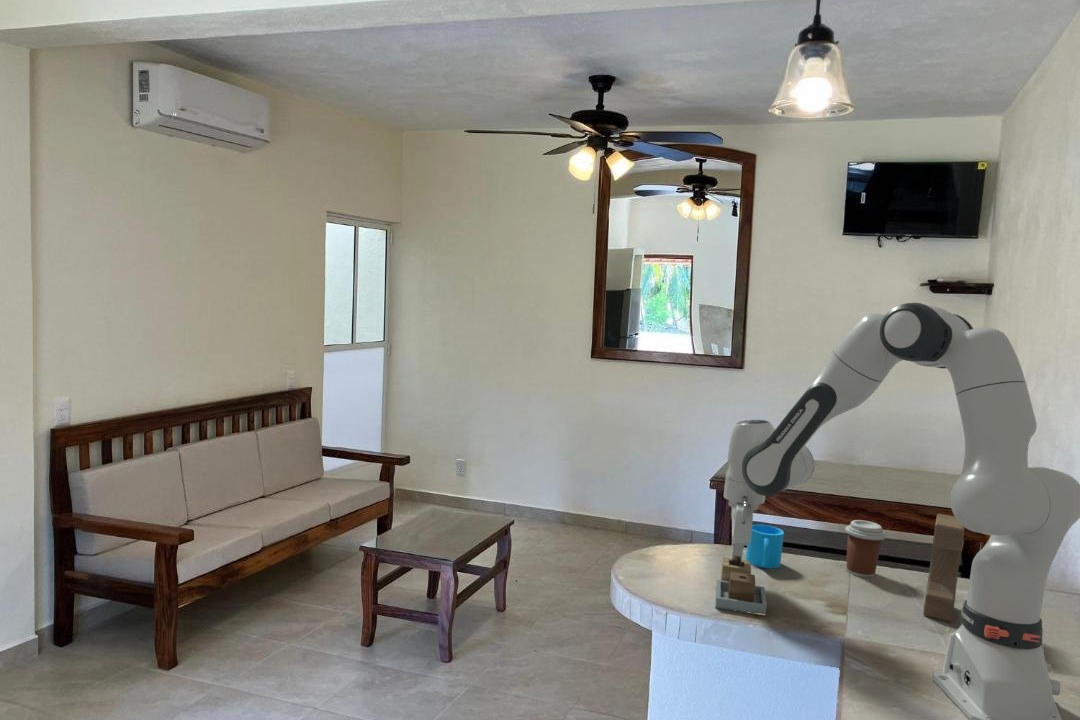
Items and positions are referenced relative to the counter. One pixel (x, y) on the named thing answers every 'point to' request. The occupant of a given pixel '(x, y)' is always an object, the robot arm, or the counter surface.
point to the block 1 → (734, 568)
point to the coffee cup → (863, 547)
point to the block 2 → (741, 586)
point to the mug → (765, 546)
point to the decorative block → (944, 568)
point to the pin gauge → (736, 559)
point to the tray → (739, 605)
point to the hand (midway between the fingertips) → (737, 552)
